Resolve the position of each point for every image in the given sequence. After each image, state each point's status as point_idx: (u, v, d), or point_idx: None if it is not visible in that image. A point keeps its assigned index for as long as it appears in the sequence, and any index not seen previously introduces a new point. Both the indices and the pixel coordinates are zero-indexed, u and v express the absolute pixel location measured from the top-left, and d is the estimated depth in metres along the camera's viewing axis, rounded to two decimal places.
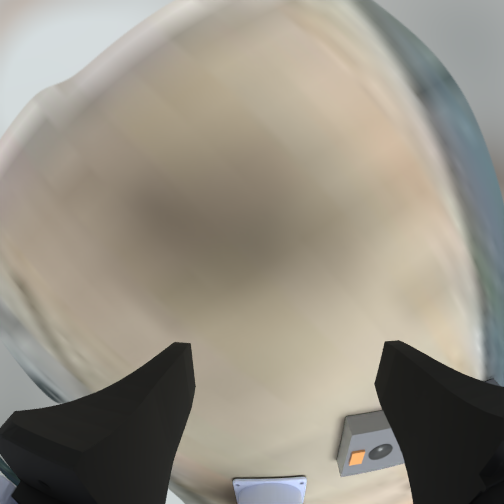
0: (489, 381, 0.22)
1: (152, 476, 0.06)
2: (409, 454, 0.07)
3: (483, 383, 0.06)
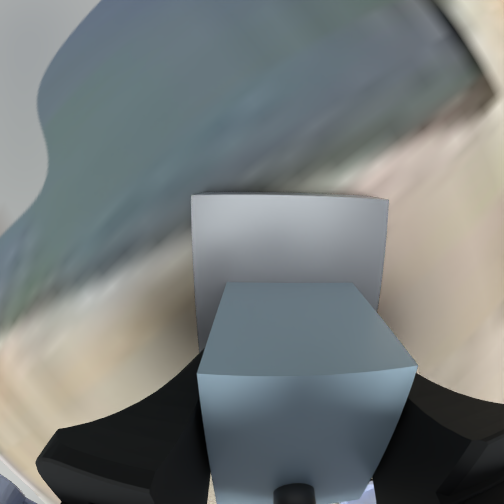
0: None
1: (199, 483, 0.06)
2: None
3: (451, 391, 0.06)
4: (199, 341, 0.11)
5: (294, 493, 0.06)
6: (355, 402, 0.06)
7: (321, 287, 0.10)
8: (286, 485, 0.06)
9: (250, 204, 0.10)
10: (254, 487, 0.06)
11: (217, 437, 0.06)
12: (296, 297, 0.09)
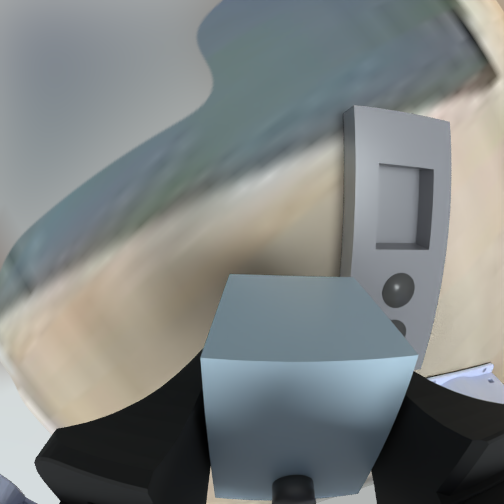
0: (344, 124, 0.18)
1: (198, 483, 0.06)
2: None
3: (452, 391, 0.06)
4: (356, 199, 0.17)
5: (293, 485, 0.06)
6: (356, 390, 0.06)
7: (323, 280, 0.10)
8: (285, 477, 0.07)
9: (385, 114, 0.15)
10: (253, 478, 0.07)
11: (218, 425, 0.06)
12: (298, 289, 0.10)
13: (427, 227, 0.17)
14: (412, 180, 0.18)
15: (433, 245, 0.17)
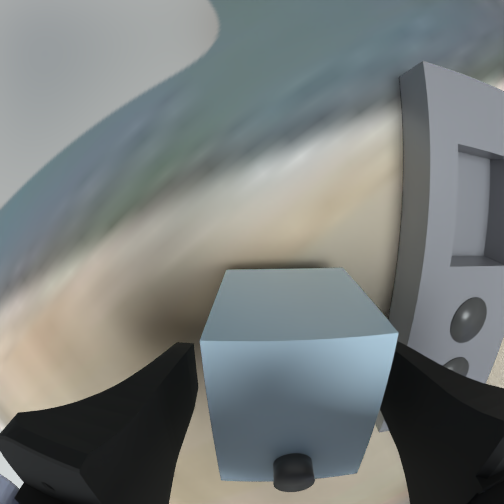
0: (402, 91, 0.11)
1: (156, 477, 0.06)
2: (406, 455, 0.07)
3: (480, 383, 0.06)
4: (430, 193, 0.10)
5: (292, 462, 0.07)
6: (342, 367, 0.07)
7: (313, 271, 0.11)
8: (284, 456, 0.07)
9: (460, 79, 0.09)
10: (255, 458, 0.07)
11: (219, 404, 0.07)
12: (289, 280, 0.10)
13: (503, 235, 0.11)
14: (483, 172, 0.12)
15: None
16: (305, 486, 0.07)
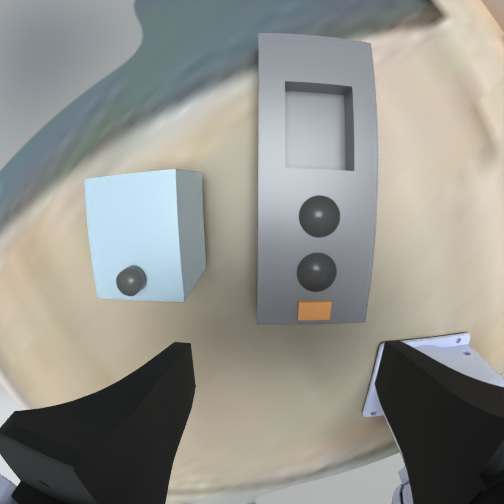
0: None
1: (152, 476, 0.06)
2: (409, 454, 0.07)
3: (483, 382, 0.06)
4: (259, 115, 0.16)
5: (128, 267, 0.13)
6: (147, 191, 0.12)
7: None
8: (128, 268, 0.13)
9: (292, 38, 0.14)
10: (112, 270, 0.13)
11: (91, 220, 0.12)
12: None
13: (351, 148, 0.16)
14: (335, 105, 0.17)
15: (359, 166, 0.16)
16: (135, 289, 0.12)
